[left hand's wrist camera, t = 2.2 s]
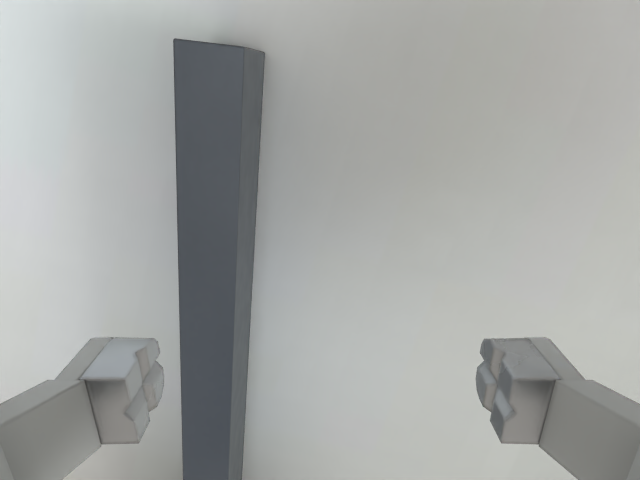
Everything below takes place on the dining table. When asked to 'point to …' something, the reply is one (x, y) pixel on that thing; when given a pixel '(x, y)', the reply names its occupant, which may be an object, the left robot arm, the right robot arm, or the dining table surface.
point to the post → (215, 246)
